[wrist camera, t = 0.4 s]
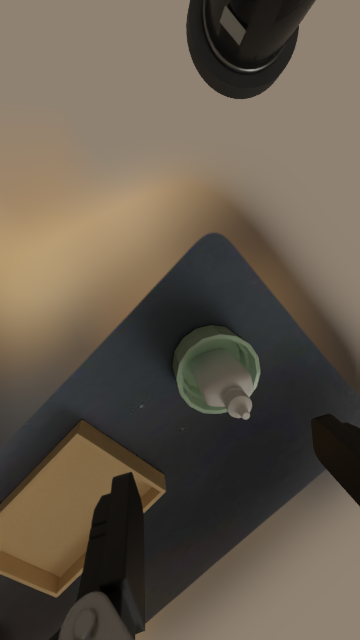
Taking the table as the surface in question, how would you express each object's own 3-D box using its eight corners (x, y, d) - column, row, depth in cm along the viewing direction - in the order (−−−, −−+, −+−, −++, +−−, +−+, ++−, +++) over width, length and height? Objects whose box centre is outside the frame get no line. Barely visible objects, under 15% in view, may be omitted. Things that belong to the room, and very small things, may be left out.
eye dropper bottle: (226, 379, 35) (268, 439, 23) (187, 374, 34) (210, 434, 22) (233, 349, 34) (281, 397, 23) (193, 344, 33) (222, 390, 21)
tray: (82, 419, 34) (77, 433, 31) (164, 474, 38) (166, 491, 35) (-29, 533, 35) (-43, 556, 33) (62, 574, 39) (56, 598, 37)
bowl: (164, 335, 33) (168, 347, 28) (239, 316, 33) (253, 325, 29) (181, 403, 35) (187, 423, 31) (250, 383, 36) (264, 400, 32)
